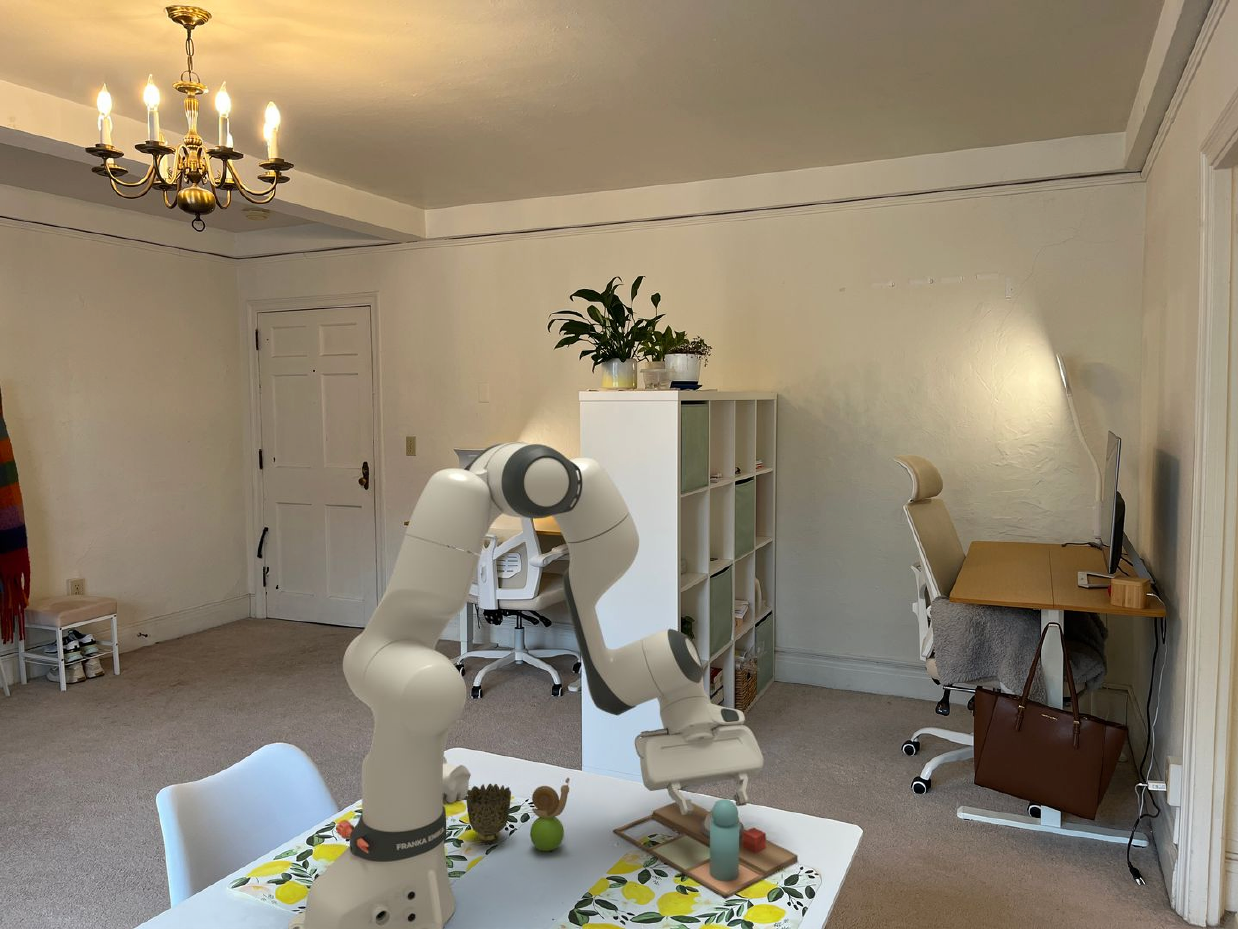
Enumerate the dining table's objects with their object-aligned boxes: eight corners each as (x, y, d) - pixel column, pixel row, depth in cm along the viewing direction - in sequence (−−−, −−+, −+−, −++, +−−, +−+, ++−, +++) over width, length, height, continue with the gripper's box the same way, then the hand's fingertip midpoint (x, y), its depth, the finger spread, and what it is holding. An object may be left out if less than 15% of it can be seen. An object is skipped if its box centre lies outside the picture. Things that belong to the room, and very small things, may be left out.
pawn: (724, 884, 129) (725, 810, 129) (703, 872, 133) (704, 799, 132) (744, 874, 132) (745, 801, 131) (723, 863, 136) (724, 791, 135)
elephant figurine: (412, 800, 158) (412, 762, 157) (456, 784, 164) (456, 748, 164) (436, 814, 152) (435, 775, 152) (480, 797, 159) (480, 759, 159)
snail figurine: (564, 860, 137) (564, 786, 136) (526, 855, 138) (525, 782, 137) (573, 843, 142) (573, 772, 142) (535, 839, 144) (535, 768, 143)
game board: (725, 905, 126) (725, 865, 126) (613, 838, 146) (613, 803, 146) (797, 867, 137) (798, 830, 136) (683, 809, 157) (683, 777, 156)
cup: (507, 851, 139) (507, 803, 139) (462, 850, 140) (461, 802, 139) (514, 829, 147) (514, 783, 146) (471, 828, 147) (470, 782, 147)
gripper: (636, 724, 137) (659, 810, 129) (751, 710, 144) (780, 792, 136) (626, 741, 142) (648, 826, 133) (738, 727, 149) (765, 807, 140)
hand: (715, 809), depth 135 cm, fingers open, 8 cm apart
